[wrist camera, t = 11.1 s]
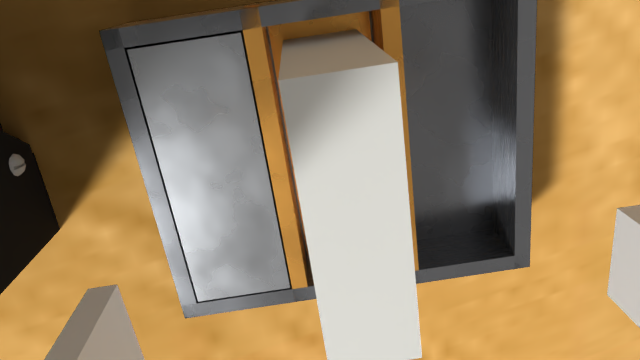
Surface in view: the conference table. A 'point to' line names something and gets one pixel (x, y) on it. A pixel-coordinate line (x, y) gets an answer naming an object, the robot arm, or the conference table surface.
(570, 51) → the conference table surface
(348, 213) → the white rectangular block
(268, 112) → the rack
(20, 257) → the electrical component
